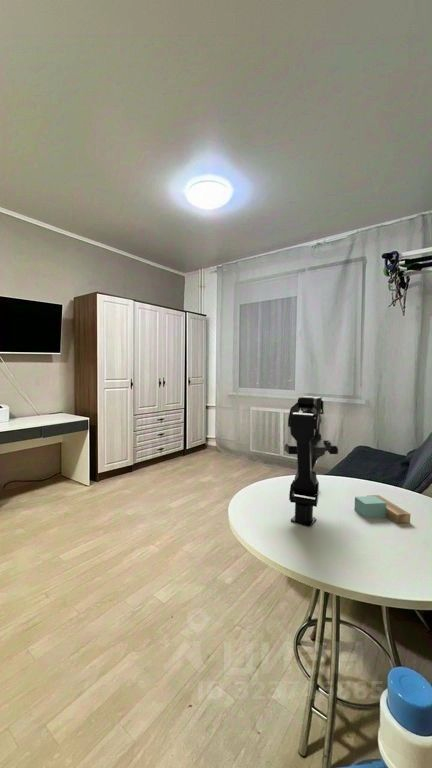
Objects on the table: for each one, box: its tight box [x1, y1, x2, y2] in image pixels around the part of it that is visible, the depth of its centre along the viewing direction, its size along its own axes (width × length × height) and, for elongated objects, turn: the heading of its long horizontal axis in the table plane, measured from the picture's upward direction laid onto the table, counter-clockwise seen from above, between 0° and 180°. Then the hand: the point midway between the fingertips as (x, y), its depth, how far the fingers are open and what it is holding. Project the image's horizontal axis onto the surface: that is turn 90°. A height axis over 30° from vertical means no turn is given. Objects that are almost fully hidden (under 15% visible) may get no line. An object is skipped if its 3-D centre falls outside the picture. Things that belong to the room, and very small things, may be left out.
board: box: [367, 494, 411, 525], centre depth 114 cm, size 5×16×3 cm, turn 9°
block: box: [353, 495, 387, 519], centre depth 113 cm, size 8×6×5 cm
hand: (310, 471), depth 120 cm, fingers closed
